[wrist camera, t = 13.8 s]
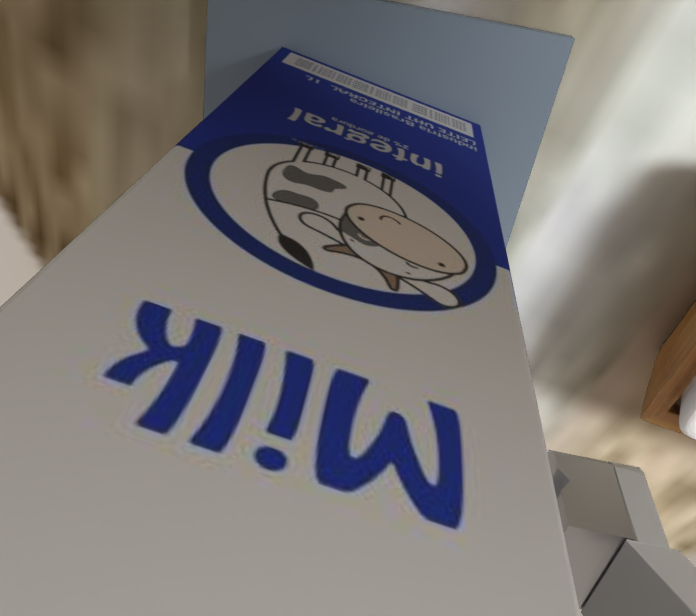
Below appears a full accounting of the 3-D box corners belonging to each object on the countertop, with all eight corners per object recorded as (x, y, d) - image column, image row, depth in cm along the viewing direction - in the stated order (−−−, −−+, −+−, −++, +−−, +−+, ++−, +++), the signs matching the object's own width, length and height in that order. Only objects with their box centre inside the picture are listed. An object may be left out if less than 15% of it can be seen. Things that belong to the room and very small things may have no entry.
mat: (571, 35, 19) (574, 38, 19) (475, 331, 25) (475, 339, 25) (213, -33, 20) (208, -32, 19) (200, 277, 25) (196, 283, 25)
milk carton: (486, 127, 21) (714, 1116, 4) (406, 294, 24) (340, 1185, 7) (276, 43, 20) (-570, 776, 3) (225, 227, 24) (-298, 1032, 7)
